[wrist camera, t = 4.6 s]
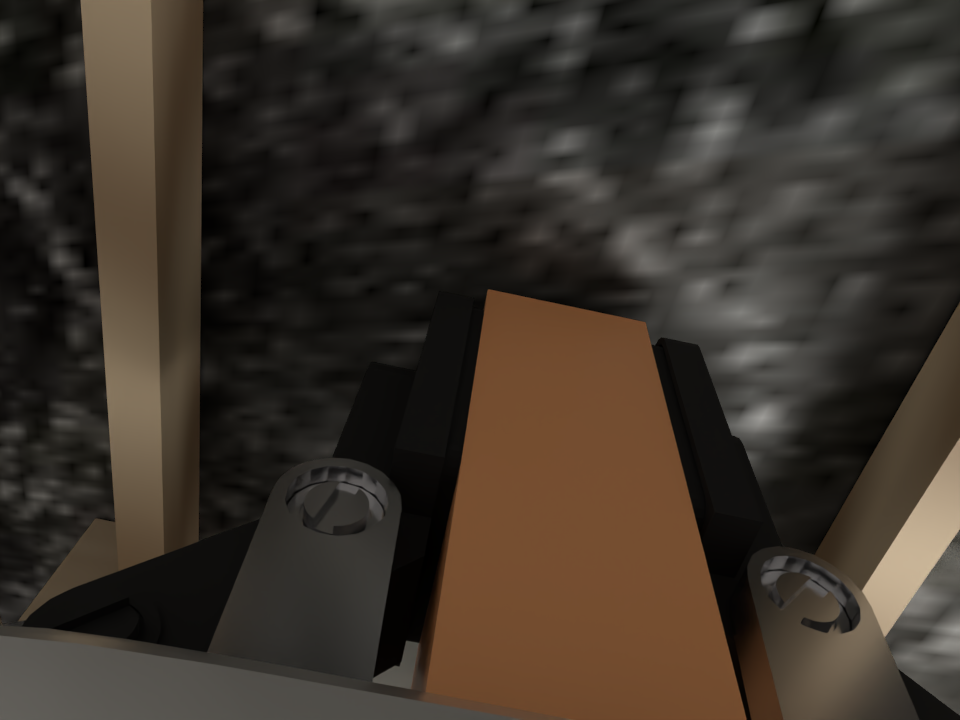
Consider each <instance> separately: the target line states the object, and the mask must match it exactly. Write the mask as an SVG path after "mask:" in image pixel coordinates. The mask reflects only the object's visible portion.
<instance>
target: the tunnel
mask: <svg viewBox="0 0 960 720" xmlns="http://www.w3.org/2000/svg"><path fill="white" fill-rule="evenodd" d="M117 571H119V569H118V554H117V539H116V524H115V522H112V521H107V520H102V519H97V518H95V520H94V521H93V522H92V523H91V525H90V526H89V527H88V529H87V530H86V531H85V533H84V534H83V535H82V537H81V538H80V539H79V541H78V542H77V543H76V545H75V546H74V547H73V549H72V550H71V551H70V553H69V554H68V555H67V557H66V558H65V559H64V561H63V562H62V563H61V564H60V566H59V567H58V568H57V570H56V571H55V572H54V574H53V575H52V576H51V578H50V579H49V580H48V582H47V583H46V584H45V586H44V587H43V588H42V590H41V591H40V592H39V594H38V595H37V596H36V598H35V599H34V600H33V601H32V603H31V604H30V605H29V607H28V608H27V609H26V611H25V612H24V613H23V615H22V616H21V617H20V619H19V620H18V621H24V620H26V619H27V618H28V617H29V615H30V614H32V613H33V612H34V611H35V610H37V609H38V608H39V607H40V606H42V605H43V604H44V603H45V602H47V601H48V600H49V599H51V598H53V597H55V596H57V595H59V594H61V593H63V592H65V591H67V590H70V589H72V588H74V587H77V586H79V585H82V584H85V583H87V582H90V581H93V580H96V579H98V578H101V577H104V576H106V575H109V574H112V573H115V572H117Z"/></svg>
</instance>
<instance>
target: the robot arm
mask: <svg viewBox="0 0 960 720" xmlns="http://www.w3.org/2000/svg"><path fill="white" fill-rule="evenodd" d="M473 302H474V298H471V297H466V296H461V295H457V294H452V293H447V292H442V291H439V294H438V297H437V301H436V304H435V308H434V311H433V315H432V318H431V322H430V325H429V329H428V332H427V336H426V339H425V343H424V346H423V350H422V353H421V357H420V360H419V364H418V367H417V371H414V370H410V369H405V368H400V367H395V366H390V365H385V364H380V363H375V362H371V363H370V365H369V367H368V369H367V371H366V374H365V376H364V379H363V382H362V384H361V387H360V389H359V392H358V394H357V397H356V399H355V402H354V404H353V407H352V409H351V412H350V414H349V417H348V419H347V422H346V424H345V427H344V429H343V432H342V434H341V437H340V439H339V442H338V444H337V447H336V450H335V452H334V455H333V457H332V458H323V459H315V460H310V461H307V462H304V463H302V464H299V465H296V466H294V467H293V468H291V469H290V470H288V471H287V472H286V473H284V474H283V475H282V476H281V477H280V478H279V480H278V481H277V483H276V484H275V486H274V487H273V489H272V491H271V494H270V496H269V499H268V501H267V504H266V506H265V509H264V511H263V514H262V516H261V519H259V520H256V521H253V522H251V523H248V524H245V525H242V526H240V527H237V528H234V529H232V530H229V531H226V532H223V533H221V534H218V535H215V536H212V537H210V538H207V539H204V540H202V541H199V542H196V543H193V544H191V545H188V546H185V547H183V548H180V549H177V550H174V551H172V552H169V553H166V554H164V555H161V556H158V557H155V558H153V559H150V560H147V561H145V562H142V563H139V564H136V565H134V566H131V567H128V568H125V569H123V570H120V571H117V572H115V573H112V574H109V575H106V576H104V577H101V578H98V579H96V580H93V581H90V582H87V583H85V584H82V585H79V586H77V587H74V588H72V589H70V590H67V591H65V592H63V593H61V594H59V595H57V596H55V597H53V598H51V599H49V600H48V601H47V602H45V603H44V604H43V605H42V606H40V607H39V608H38V609H37V610H35V611H34V612H33V613H32V614H30V615H29V617H28V618H27V619H26V620H24V621H17V622H10V623H3V624H2V621H1V616H0V720H572V719H567V718H561V717H556V716H551V715H546V714H540V713H535V712H530V711H525V710H519V709H514V708H509V707H504V706H498V705H493V704H488V703H482V702H477V701H471V700H466V699H461V698H455V697H450V696H444V695H439V694H434V693H428V692H423V691H417V690H412V689H407V688H401V687H396V686H390V685H385V684H380V683H374V682H372V681H373V678H374V677H376V676H378V675H379V674H381V673H383V672H385V671H387V670H388V669H390V668H392V667H394V666H399V667H400V663H401V662H402V657H403V653H404V648H405V643H406V641H410V642H416V643H419V642H420V639H421V634H422V630H423V626H424V621H425V617H426V613H427V608H428V604H429V599H430V595H431V591H432V586H433V582H434V578H435V573H436V569H437V565H438V560H439V556H440V552H441V547H442V543H443V539H444V534H445V530H446V526H447V521H448V517H449V513H450V508H451V504H452V500H453V495H454V491H455V487H456V482H457V477H458V473H459V468H460V463H461V457H462V452H463V446H464V440H465V433H466V427H467V420H468V414H469V407H470V401H471V395H472V388H473V382H474V375H475V369H476V362H477V356H478V349H479V343H480V336H481V330H482V324H483V317H484V310H482V309H478V308H473ZM651 346H652V350H653V354H654V358H655V362H656V366H657V370H658V374H659V377H660V381H661V385H662V389H663V393H664V397H665V401H666V405H667V409H668V413H669V417H670V421H671V425H672V428H673V432H674V436H675V440H676V444H677V448H678V452H679V456H680V460H681V464H682V468H683V472H684V476H685V480H686V483H687V487H688V491H689V495H690V499H691V503H692V507H693V511H694V515H695V519H696V523H697V527H698V531H699V534H700V538H701V542H702V546H703V550H704V554H705V558H706V562H707V566H708V570H709V574H710V578H711V582H712V585H713V589H714V593H715V597H716V601H717V605H718V609H719V613H720V617H721V621H722V625H723V629H724V633H725V636H726V640H727V644H728V648H729V652H730V656H731V660H732V664H733V668H734V672H735V676H736V680H737V684H738V688H739V691H740V695H741V699H742V703H743V707H744V711H745V715H746V719H747V720H960V716H959V715H958V714H957V713H955V712H954V711H953V710H951V709H950V708H949V707H947V706H946V705H945V704H943V703H942V702H941V701H939V700H938V699H937V698H936V697H934V696H933V695H932V694H930V693H929V692H928V691H926V690H925V689H924V688H922V687H921V686H920V685H918V684H917V683H916V682H914V681H913V680H912V679H911V678H909V677H908V676H907V675H905V674H904V673H903V672H901V671H900V670H899V669H898V668H897V666H896V663H895V661H894V658H893V656H892V654H891V651H890V649H889V647H888V644H887V642H886V640H885V637H884V635H883V633H882V630H881V628H880V625H879V623H878V621H877V618H876V616H875V614H874V611H873V609H872V607H871V605H870V603H869V602H868V600H867V598H866V597H865V595H864V593H863V592H862V591H861V590H860V589H859V588H858V587H857V585H856V584H855V583H854V582H853V581H852V580H851V579H850V578H849V577H848V576H846V575H845V574H844V573H843V572H841V571H840V570H839V569H837V568H836V567H835V566H833V565H832V564H830V563H828V562H826V561H824V560H822V559H821V558H819V557H817V556H815V555H813V554H810V553H807V552H804V551H801V550H798V549H795V548H787V547H782V545H781V543H780V540H779V537H778V535H777V532H776V530H775V527H774V524H773V522H772V519H771V516H770V514H769V511H768V509H767V506H766V503H765V501H764V498H763V495H762V493H761V490H760V488H759V485H758V482H757V480H756V477H755V475H754V472H753V469H752V467H751V464H750V461H749V459H748V456H747V454H746V451H745V448H744V446H743V444H742V442H741V440H740V439H739V438H737V437H735V436H732V435H731V432H730V429H729V427H728V424H727V421H726V418H725V416H724V413H723V410H722V408H721V405H720V402H719V399H718V397H717V394H716V391H715V388H714V386H713V383H712V380H711V378H710V375H709V372H708V369H707V367H706V364H705V361H704V358H703V356H702V353H701V350H700V348H699V346H698V345H696V344H691V343H686V342H681V341H677V340H672V339H667V338H660V339H659V340H658V342H657V343H656V345H651Z"/></svg>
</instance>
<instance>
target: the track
mask: <svg viewBox="0 0 960 720" xmlns="http://www.w3.org/2000/svg"><path fill="white" fill-rule="evenodd" d="M81 14H82V29H83V44H84V59H85V74H86V89H87V104H88V119H89V134H90V149H91V164H92V179H93V194H94V209H95V224H96V239H97V254H98V269H99V284H100V299H101V314H102V329H103V344H104V359H105V374H106V389H107V404H108V419H109V434H110V449H111V464H112V479H113V494H114V509H115V524H116V539H117V554H118V569H119V571H120V570H123V569H125V568H128V567H131V566H134V565H136V564H139V563H142V562H145V561H147V560H150V559H153V558H155V557H158V556H161V555H164V554H166V553H169V552H172V551H174V550H177V549H180V548H183V547H185V546H188V545H191V544H193V543H196V542H199V450H200V327H201V203H202V80H203V0H81ZM959 529H960V303H959V304H958V306H957V308H956V310H955V311H954V313H953V315H952V317H951V318H950V320H949V322H948V324H947V325H946V327H945V329H944V330H943V332H942V334H941V336H940V337H939V339H938V341H937V343H936V344H935V346H934V348H933V350H932V351H931V353H930V355H929V357H928V358H927V360H926V362H925V364H924V365H923V367H922V369H921V370H920V372H919V374H918V376H917V377H916V379H915V381H914V383H913V384H912V386H911V388H910V390H909V391H908V393H907V395H906V397H905V398H904V400H903V402H902V404H901V405H900V407H899V409H898V410H897V412H896V414H895V416H894V417H893V419H892V421H891V423H890V424H889V426H888V428H887V430H886V431H885V433H884V435H883V437H882V438H881V440H880V442H879V443H878V445H877V447H876V449H875V450H874V452H873V454H872V456H871V457H870V459H869V461H868V463H867V464H866V466H865V468H864V470H863V471H862V473H861V475H860V477H859V478H858V480H857V482H856V483H855V485H854V487H853V489H852V490H851V492H850V494H849V496H848V497H847V499H846V501H845V503H844V504H843V506H842V508H841V510H840V511H839V513H838V515H837V517H836V518H835V520H834V522H833V523H832V525H831V527H830V529H829V530H828V532H827V534H826V536H825V537H824V539H823V541H822V543H821V544H820V546H819V548H818V550H817V551H816V553H815V556H817V557H819V558H821V559H822V560H824V561H826V562H828V563H830V564H832V565H833V566H835V567H836V568H837V569H839V570H840V571H841V572H843V573H844V574H845V575H846V576H848V577H849V578H850V579H851V580H852V581H853V582H854V583H855V584H856V585H857V587H858V588H859V589H860V590H861V591H862V592H863V593H864V595H865V597H866V598H867V600H868V602H869V603H870V605H871V607H872V609H873V611H874V614H875V616H876V618H877V621H878V623H879V625H880V628H881V630H882V633H883V635H884V637H885V636H886V635H887V633H888V632H889V630H890V629H891V628H892V626H893V625H894V623H895V622H896V620H897V619H898V617H899V616H900V615H901V613H902V612H903V610H904V609H905V607H906V606H907V604H908V603H909V602H910V600H911V599H912V597H913V596H914V594H915V593H916V591H917V590H918V589H919V587H920V586H921V584H922V583H923V581H924V580H925V578H926V577H927V576H928V574H929V573H930V571H931V570H932V568H933V567H934V565H935V564H936V563H937V561H938V560H939V558H940V557H941V555H942V554H943V552H944V551H945V550H946V548H947V547H948V545H949V544H950V542H951V541H952V540H953V538H954V537H955V535H956V534H957V532H958V531H959Z"/></svg>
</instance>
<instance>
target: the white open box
mask: <svg viewBox="0 0 960 720" xmlns="http://www.w3.org/2000/svg"><path fill="white" fill-rule="evenodd" d="M483 310H484V317H483V324H482V330H481V336H480V343H479V349H478V356H477V362H476V369H475V375H474V382H473V388H472V395H471V401H470V407H469V414H468V420H467V427H466V433H465V440H464V446H463V452H462V457H461V463H460V468H459V473H458V477H457V482H456V487H455V491H454V495H453V500H452V504H451V508H450V513H449V517H448V521H447V526H446V530H445V534H444V539H443V543H442V547H441V552H440V556H439V560H438V565H437V569H436V573H435V578H434V582H433V586H432V591H431V595H430V599H429V604H428V608H427V613H426V617H425V621H424V626H423V630H422V634H421V639H420V642H419V643H416V642H410V641H406V643H405V648H404V653H403V657H402V662H401V663H400V667H399V666H394V667H392V668H390V669H388V670H387V671H385V672H383V673H381V674H379V675H378V676H376V677H374V678H373V681H372V682H374V683H380V684H385V685H390V686H396V687H401V688H407V689H412V690H417V691H423V692H428V693H434V694H439V695H444V696H450V697H455V698H461V699H466V700H471V701H477V702H482V703H488V704H493V705H498V706H504V707H509V708H514V709H519V710H525V711H530V712H535V713H540V714H546V715H551V716H556V717H561V718H567V719H572V720H747V719H746V715H745V711H744V707H743V703H742V699H741V695H740V691H739V688H738V684H737V680H736V676H735V672H734V668H733V664H732V660H731V656H730V652H729V648H728V644H727V640H726V636H725V633H724V629H723V625H722V621H721V617H720V613H719V609H718V605H717V601H716V597H715V593H714V589H713V585H712V582H711V578H710V574H709V570H708V566H707V562H706V558H705V554H704V550H703V546H702V542H701V538H700V534H699V531H698V527H697V523H696V519H695V515H694V511H693V507H692V503H691V499H690V495H689V491H688V487H687V483H686V480H685V476H684V472H683V468H682V464H681V460H680V456H679V452H678V448H677V444H676V440H675V436H674V432H673V428H672V425H671V421H670V417H669V413H668V409H667V405H666V401H665V397H664V393H663V389H662V385H661V381H660V377H659V374H658V370H657V366H656V362H655V358H654V354H653V350H652V346H651V342H650V338H649V334H648V330H647V326H646V323H645V322H642V321H638V320H633V319H628V318H623V317H619V316H614V315H609V314H604V313H599V312H595V311H590V310H585V309H580V308H576V307H571V306H566V305H561V304H557V303H552V302H547V301H542V300H537V299H533V298H528V297H523V296H518V295H514V294H509V293H504V292H499V291H495V290H490V289H488V291H487V296H486V300H485V305H484V309H483Z"/></svg>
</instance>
